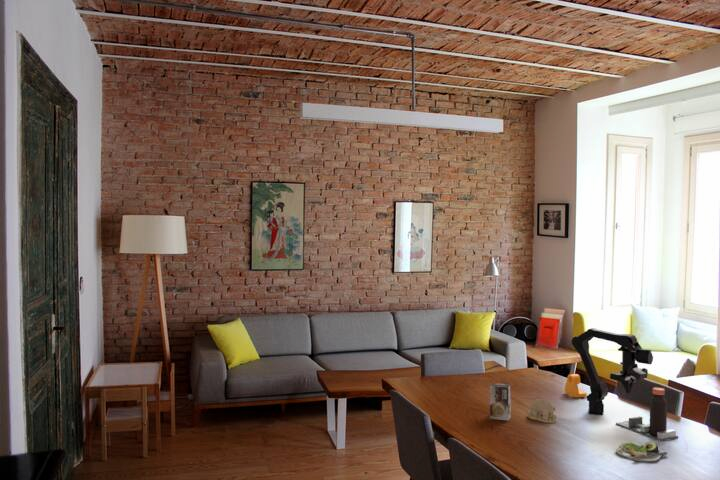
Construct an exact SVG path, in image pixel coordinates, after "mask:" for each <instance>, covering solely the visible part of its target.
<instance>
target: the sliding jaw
mask: <svg viewBox="0 0 720 480" xmlns="http://www.w3.org/2000/svg"><path fill="white" fill-rule="evenodd" d="M628 421H629V426H631V427H632V426H637V427H639V428H641V431H642V432H649V431H650V423H649V424H645V425H642V423H643V417H642V416H633V417H629V418H628Z"/></svg>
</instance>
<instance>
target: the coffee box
mask: <svg viewBox="0 0 720 480" xmlns="http://www.w3.org/2000/svg"><path fill="white" fill-rule="evenodd" d="M511 385H512V384H507V383H499V382H498V383H497V382H492V383H491V384H490V386H489V419H490V420H491V419H492V420H499V421H510V419H511V416H512V415H511V405H512V404H511V403H512V402H511V396H512V395H511V394H512V393H511V389H512V387H511Z"/></svg>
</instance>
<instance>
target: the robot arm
mask: <svg viewBox="0 0 720 480" xmlns="http://www.w3.org/2000/svg"><path fill="white" fill-rule="evenodd" d="M593 338H596V339H600V340H603V341H604V340H605V341H609V342H613V343H615V344H617V345H618V346H620V347H619V348H618V349H617V351H619V352H622V353H621V355H622V356H621V357H622V358H621V359H622V361H621V362H620V364H619V365H621V366H622V368H621V370H619V372H610V374H609V379H610V380H613V381H616V382H621V384H622V386H623V388H624V390H625V392H626V394H630V393H631V391H632V389H633V387H634V386H633V385H634V384H635V383H636V382H637V381H640V380H645V379H647V378H648V376H649V375H648V373H649V371H648V369H647V368H646V367H644V368H643V367H642V368H639V367H638V363H639V364H645V365H652V364H653V361H654V356H653V353H652V350H651V349H650V348H649V349H645V348H642V345H641V344H640V343H639V342H638V338H637V337H636V335H634V334H632V333H630V334H629V333H622V334H621V333H614V332H610V331H605V330H602V329H597V328H595V327H592V328H589V329H587V330H585V331H584V332H583V333H581V334H580V335H576V336H573V337H572V339H571V341H570V342H571V344H572V347H573V348H574V350H575V351H576V352H577V354H578V355H579V357H580V359H581V361H582V364H583V367H584V370H585V371H586V374H587V377H588V379H589V390H590V393H589V394H587V396H586V397H585V398H586V401H587V402H588V409H587V411H588V414H590V415H591V414H593V415H601V416H602V415H604V413H605V409H604V408H605V404H604V402H603V400H605V399H606V398H605V397H607V396H608V395H609V387H608V385H607V382H606V381H602V380H601V378H600V377H599V374H598V372H597V369H596V367H595V364H594V361H593V359H592V356H591V354H590V344H589V343H590V342H589V341H591V340H593Z"/></svg>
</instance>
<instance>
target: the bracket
mask: <svg viewBox="0 0 720 480" xmlns="http://www.w3.org/2000/svg"><path fill="white" fill-rule="evenodd" d="M580 383H581V376H580V374H578V373H573V374H568V375H567V378H566V382H565V385H564V393H565V394H566V395H567V396H568V397H571V398H586V396H588V393H587V392H585V391H583V390H581V389H579V388H578V387H579V386H578V385H579V384H580Z"/></svg>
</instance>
